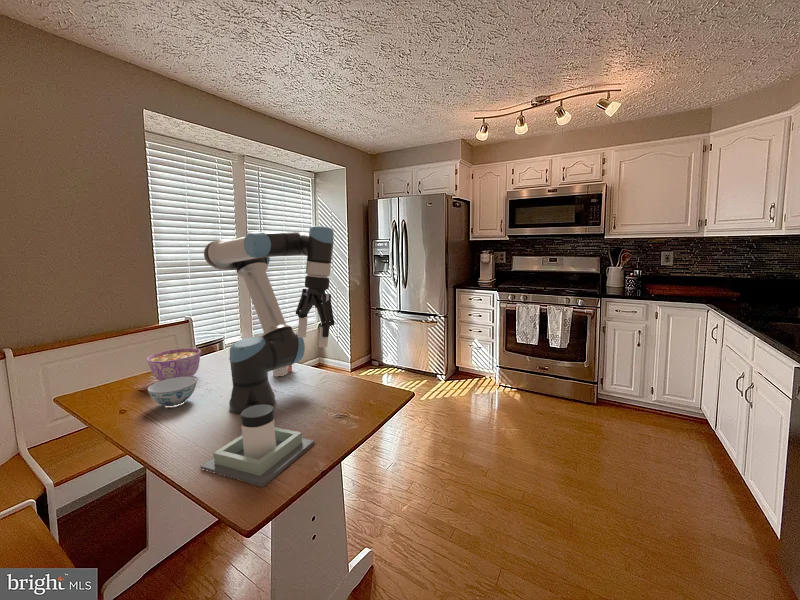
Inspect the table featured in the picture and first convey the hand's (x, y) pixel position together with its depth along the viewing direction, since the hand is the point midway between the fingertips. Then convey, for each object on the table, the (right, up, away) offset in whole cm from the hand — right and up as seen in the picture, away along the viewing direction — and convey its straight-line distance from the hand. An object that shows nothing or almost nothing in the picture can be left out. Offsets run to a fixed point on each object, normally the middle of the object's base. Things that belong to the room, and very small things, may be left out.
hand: (311, 341), depth 118 cm
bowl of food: (-68, -21, +41) cm, 82 cm away
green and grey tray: (-9, -28, -20) cm, 36 cm away
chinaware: (-53, -25, +16) cm, 61 cm away
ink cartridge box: (-24, -19, +45) cm, 54 cm away
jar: (-8, -27, -21) cm, 35 cm away
